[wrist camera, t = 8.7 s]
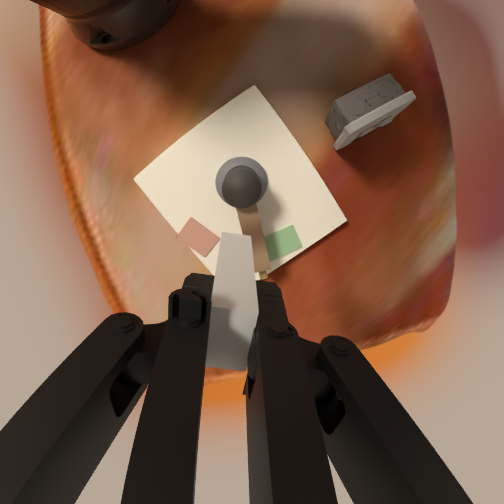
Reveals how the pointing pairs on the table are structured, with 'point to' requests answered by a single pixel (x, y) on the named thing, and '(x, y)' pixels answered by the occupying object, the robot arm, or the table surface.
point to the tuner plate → (215, 169)
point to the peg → (248, 211)
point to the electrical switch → (366, 109)
